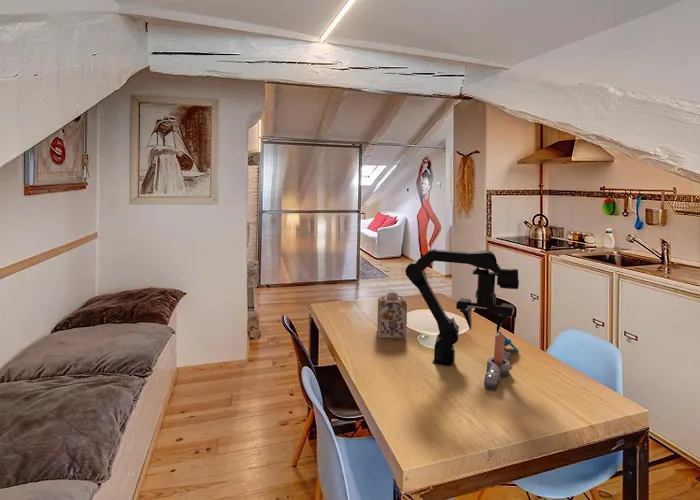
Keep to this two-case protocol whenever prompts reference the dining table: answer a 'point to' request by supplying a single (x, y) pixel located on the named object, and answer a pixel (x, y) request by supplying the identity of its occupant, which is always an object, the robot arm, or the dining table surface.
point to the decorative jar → (392, 316)
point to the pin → (499, 349)
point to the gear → (508, 343)
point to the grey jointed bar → (496, 372)
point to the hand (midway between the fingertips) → (483, 330)
